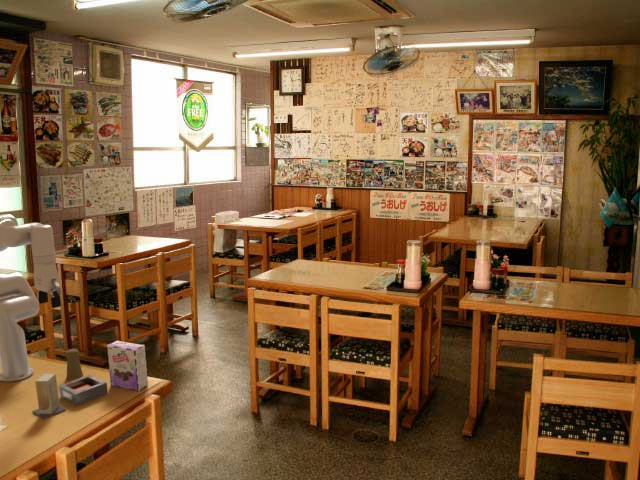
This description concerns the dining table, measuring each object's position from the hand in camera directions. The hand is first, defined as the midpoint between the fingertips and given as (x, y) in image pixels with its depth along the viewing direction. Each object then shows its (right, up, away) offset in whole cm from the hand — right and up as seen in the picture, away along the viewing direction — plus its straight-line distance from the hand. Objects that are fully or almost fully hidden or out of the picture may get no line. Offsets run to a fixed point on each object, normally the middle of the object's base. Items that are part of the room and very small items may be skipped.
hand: (50, 304), depth 220 cm
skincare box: (+5, -35, -11) cm, 37 cm away
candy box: (+26, -32, +8) cm, 42 cm away
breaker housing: (+12, -33, +1) cm, 36 cm away
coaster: (+5, -36, -11) cm, 38 cm away
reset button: (+12, -33, +1) cm, 35 cm away
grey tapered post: (+1, -31, +19) cm, 36 cm away
